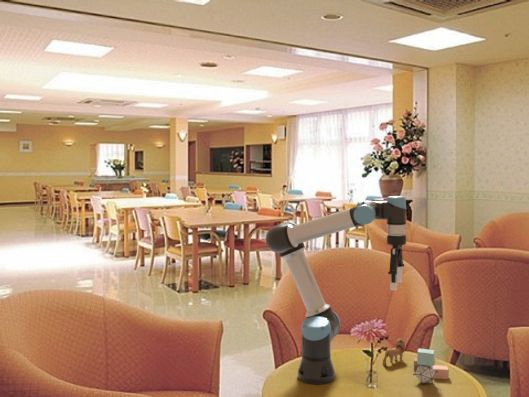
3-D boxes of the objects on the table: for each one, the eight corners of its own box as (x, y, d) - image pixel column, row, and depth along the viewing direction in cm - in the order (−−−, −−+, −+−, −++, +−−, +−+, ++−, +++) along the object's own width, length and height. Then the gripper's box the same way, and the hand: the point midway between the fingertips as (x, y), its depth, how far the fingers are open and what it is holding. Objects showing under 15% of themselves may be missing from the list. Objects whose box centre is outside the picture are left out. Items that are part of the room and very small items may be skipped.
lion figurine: (396, 355, 236) (396, 336, 236) (407, 358, 233) (407, 339, 232) (379, 365, 226) (379, 345, 225) (391, 369, 222) (391, 348, 221)
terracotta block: (433, 378, 212) (433, 369, 212) (431, 374, 216) (431, 365, 216) (448, 379, 211) (448, 369, 211) (446, 375, 215) (447, 365, 215)
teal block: (417, 364, 207) (417, 351, 206) (418, 360, 211) (418, 348, 210) (433, 366, 205) (433, 353, 204) (434, 362, 208) (434, 350, 208)
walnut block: (413, 370, 221) (413, 360, 221) (415, 365, 226) (415, 356, 225) (433, 372, 218) (433, 363, 218) (434, 368, 223) (434, 358, 222)
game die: (429, 393, 207) (439, 380, 201) (408, 384, 208) (418, 371, 202) (432, 374, 214) (441, 361, 207) (411, 366, 215) (420, 352, 209)
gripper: (401, 239, 200) (401, 294, 201) (409, 230, 223) (409, 279, 224) (381, 238, 202) (381, 293, 204) (391, 229, 225) (391, 278, 227)
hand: (396, 286), depth 214 cm, fingers open, 13 cm apart
